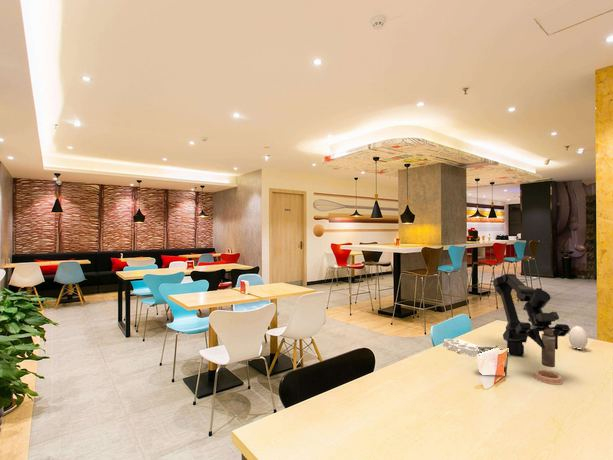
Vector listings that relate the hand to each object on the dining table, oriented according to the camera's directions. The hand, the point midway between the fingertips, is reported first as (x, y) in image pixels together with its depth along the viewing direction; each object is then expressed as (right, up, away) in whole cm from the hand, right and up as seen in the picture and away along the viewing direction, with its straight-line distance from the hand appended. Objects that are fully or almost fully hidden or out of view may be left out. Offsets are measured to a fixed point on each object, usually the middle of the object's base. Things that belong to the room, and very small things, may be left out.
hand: (550, 348), depth 134 cm
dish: (0, -13, +1) cm, 13 cm away
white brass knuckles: (-19, -13, +35) cm, 42 cm away
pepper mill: (0, -7, +1) cm, 7 cm away
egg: (+40, -13, +36) cm, 55 cm away
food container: (-20, -13, +7) cm, 25 cm away
